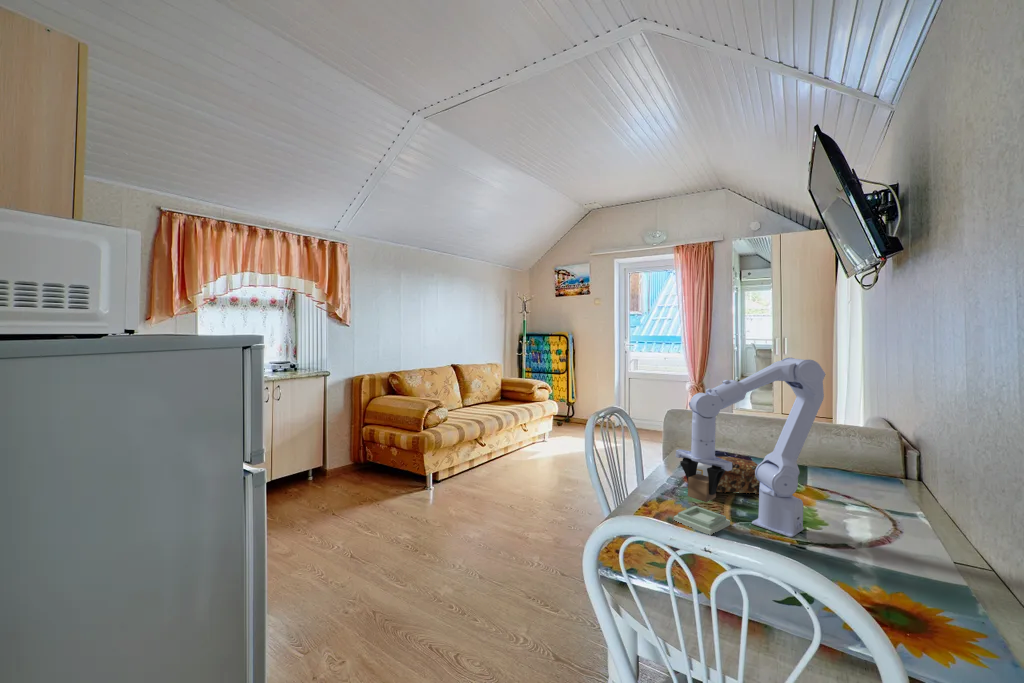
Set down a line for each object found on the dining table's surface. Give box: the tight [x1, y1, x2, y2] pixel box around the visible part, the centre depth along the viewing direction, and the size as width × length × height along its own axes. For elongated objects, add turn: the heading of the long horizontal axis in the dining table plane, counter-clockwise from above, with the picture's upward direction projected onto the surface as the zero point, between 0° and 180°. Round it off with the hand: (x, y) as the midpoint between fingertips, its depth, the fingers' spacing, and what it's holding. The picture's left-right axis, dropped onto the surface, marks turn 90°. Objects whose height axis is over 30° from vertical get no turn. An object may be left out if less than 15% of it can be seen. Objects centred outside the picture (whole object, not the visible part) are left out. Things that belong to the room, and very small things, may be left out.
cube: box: [687, 474, 717, 503], centre depth 114 cm, size 5×5×5 cm
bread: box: [715, 455, 760, 495], centre depth 140 cm, size 19×11×10 cm, turn 81°
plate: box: [673, 505, 731, 536], centre depth 114 cm, size 10×10×2 cm
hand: (701, 490), depth 114 cm, fingers closed on cube, 5 cm apart
